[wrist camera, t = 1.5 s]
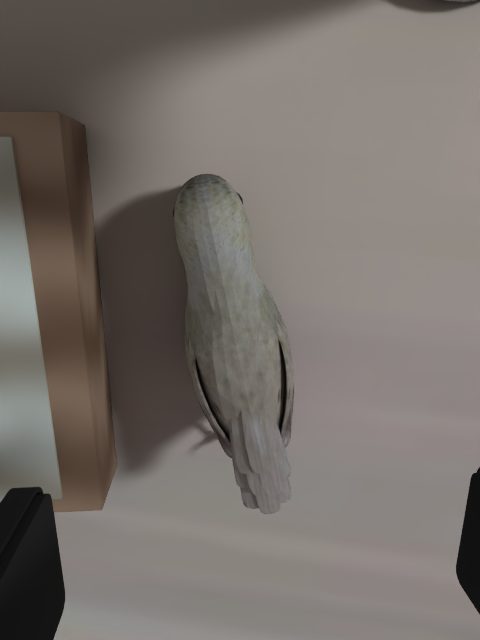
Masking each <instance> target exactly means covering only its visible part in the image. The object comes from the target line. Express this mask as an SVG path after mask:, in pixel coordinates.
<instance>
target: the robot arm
mask: <svg viewBox="0 0 480 640" xmlns="http://www.w3.org/2000/svg"><path fill="white" fill-rule="evenodd" d="M444 1H455V2H468V1H475V0H444ZM456 573H457V577H458V580H459V583H460V585H461V586H462V588H463V590H464V591H465V593H466V594H467V596H468V597H469V599H470V600H471V602H472V603H473V605H474V606H475V608H476V609H477V611H478V612H479V614H480V467H479V469H478V471H477V473H474V474H473V475H472V477H471V481H470V487H469V493H468V499H467V505H466V511H465V517H464V523H463V529H462V535H461V540H460V546H459V552H458V558H457V564H456ZM64 603H65V589H64V581H63V574H62V567H61V560H60V553H59V546H58V539H57V532H56V525H55V518H54V511H53V504H52V498H51V495H50V494H44V493H43V490H42V488H41V487H22V488H12V489H10V490H9V491H8V492H7V494H6V495H5V497H4V498H3V500H2V501H1V503H0V640H53V639H54V636H55V633H56V630H57V627H58V624H59V622H60V619H61V616H62V613H63V609H64Z"/></svg>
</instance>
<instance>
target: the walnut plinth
mask: <svg viewBox="0 0 480 640" xmlns="http://www.w3.org/2000/svg"><path fill="white" fill-rule="evenodd" d="M116 467H117V462H116V452H115V441H114V430H113V420H112V409H111V399H110V388H109V377H108V367H107V356H106V345H105V335H104V324H103V314H102V303H101V292H100V282H99V271H98V261H97V250H96V239H95V229H94V218H93V208H92V197H91V186H90V176H89V165H88V154H87V144H86V133H85V125H83V124H81V123H79V122H77V121H75V120H73V119H71V118H69V117H67V116H65V115H63V114H61V113H59V112H11V111H0V503H1V501H2V500H3V498H4V497H5V495H6V494H7V492H8V491H9V490H10V489H12V488H22V487H41V488H42V490H43V493H44V494H50V495H51V498H52V504H53V511H54V512H72V511H93V510H102V509H103V506H104V503H105V500H106V497H107V494H108V491H109V488H110V485H111V482H112V479H113V476H114V473H115V470H116Z"/></svg>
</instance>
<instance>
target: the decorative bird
mask: <svg viewBox="0 0 480 640" xmlns="http://www.w3.org/2000/svg"><path fill="white" fill-rule="evenodd" d="M173 216H174V222H175V233H176V241H177V245H178V248H179V251H180V254H181V257H182V259H183V262H184V266H185V272H186V278H187V285H188V299H187V304H186V310H185V353H186V358H187V364H188V368H189V372H190V375H191V378H192V382H193V385H194V389H195V392H196V395H197V397H198V400H199V402H200V405H201V407H202V409H203V412H204V414H205V416H206V418H207V419H208V421H209V423H210V425H211V427H212V429H213V431H214V433H215V434H216V436H217V438H218V440H219V442H220V444H221V446H222V448H223V450H224V452H225V453H226V454H227V456H229V457H230V458H232V460H233V466H234V473H235V478H236V482H237V485H238V486H239V487H240V489H241V495H242V500H243V503H244V505H245V506H246V507H247V508H252V509H256V508H259V509H260V511H261V512H262V513H264V514H272V513H275V512H277V511H279V509H280V503H284V502H286V501H287V500H289V499H290V497H291V488H290V484H289V480H288V477H289V476H290V465H289V461H288V458H287V454H286V450H285V447H286V446H287V445H288V444H289V442H290V438H291V423H292V411H293V398H294V378H293V366H292V358H291V350H290V344H289V340H288V335H287V331H286V327H285V325H284V322H283V320H282V317H281V315H280V313H279V311H278V309H277V307H276V304H275V302H274V300H273V298H272V296H271V294H270V292H269V290H268V289H267V288H266V286H265V285H264V283H263V281H262V279H261V277H260V275H259V273H258V271H257V268H256V264H255V260H254V257H253V253H252V246H251V232H250V226H249V221H248V219H247V216H246V213H245V211H244V208H243V201H242V198H241V196H240V195H239V194H238V193H237V192H236V191H235V190H234V189H233V187H232V186H231V185H230V184H229V183H228V182H227V181H226V180H224V179H223V178H221V177H220V176H216V175H213V174H201V175H198V176H195V177H193V178H191V179H190V180H188V181H187V182H186V183H185V184H184V185H183V186H182V188H181V189H180V191H179V194H178V196H177V200H176V204H175V207H174V210H173Z"/></svg>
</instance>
